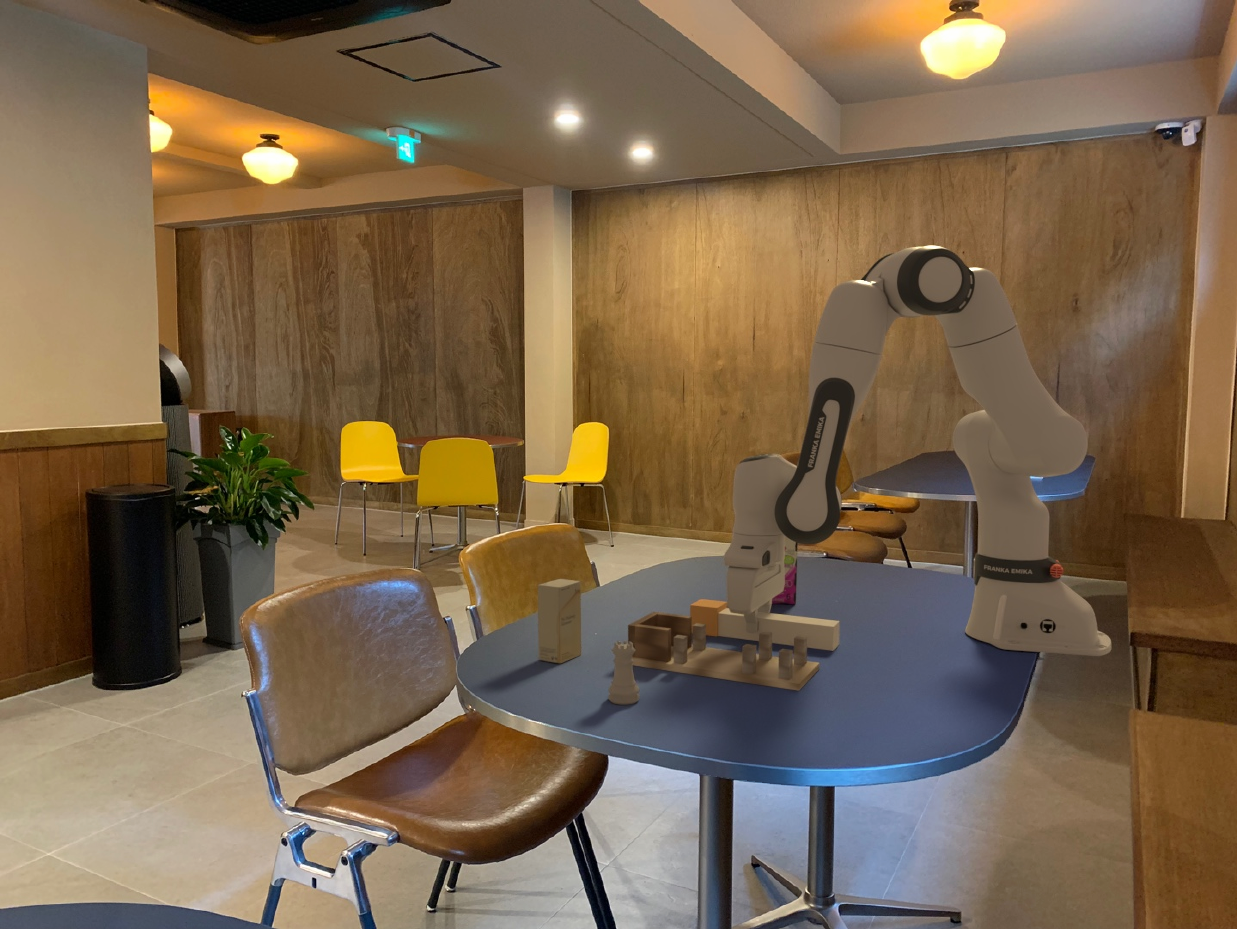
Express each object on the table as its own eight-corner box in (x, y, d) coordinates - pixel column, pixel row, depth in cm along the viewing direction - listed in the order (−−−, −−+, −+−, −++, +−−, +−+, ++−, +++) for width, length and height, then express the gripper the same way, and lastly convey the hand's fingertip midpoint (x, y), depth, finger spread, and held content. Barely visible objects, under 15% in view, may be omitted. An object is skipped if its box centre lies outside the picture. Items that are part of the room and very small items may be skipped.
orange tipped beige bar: (839, 643, 151) (840, 614, 151) (832, 651, 147) (832, 621, 147) (700, 626, 163) (701, 599, 162) (690, 633, 158) (690, 605, 158)
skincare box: (559, 665, 141) (559, 587, 140) (537, 660, 143) (536, 584, 142) (582, 654, 146) (582, 580, 145) (560, 650, 148) (559, 577, 147)
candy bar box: (740, 604, 179) (741, 522, 178) (739, 598, 184) (740, 518, 183) (797, 605, 178) (798, 522, 177) (795, 599, 183) (796, 519, 182)
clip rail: (819, 669, 138) (819, 630, 137) (799, 690, 128) (799, 649, 128) (652, 645, 151) (652, 610, 150) (622, 663, 141) (622, 626, 140)
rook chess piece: (615, 707, 122) (615, 649, 121) (602, 697, 126) (602, 641, 125) (645, 703, 124) (645, 645, 123) (631, 693, 128) (631, 637, 127)
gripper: (760, 538, 165) (759, 612, 166) (719, 557, 147) (719, 640, 148) (793, 540, 162) (793, 616, 163) (757, 560, 144) (756, 645, 145)
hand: (757, 628), depth 155 cm, fingers closed on orange tipped beige bar, 4 cm apart
